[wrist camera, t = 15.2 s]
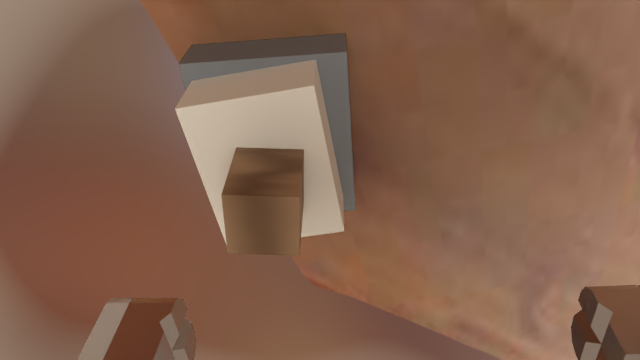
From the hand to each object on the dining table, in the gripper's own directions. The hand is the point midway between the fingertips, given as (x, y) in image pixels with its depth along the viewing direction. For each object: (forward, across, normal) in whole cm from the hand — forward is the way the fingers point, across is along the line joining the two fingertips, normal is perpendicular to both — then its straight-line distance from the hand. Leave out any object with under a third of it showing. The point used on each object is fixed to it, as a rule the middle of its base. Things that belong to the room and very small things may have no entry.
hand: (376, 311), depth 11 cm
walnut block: (+25, +7, +13) cm, 29 cm away
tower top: (+30, +8, +13) cm, 33 cm away
